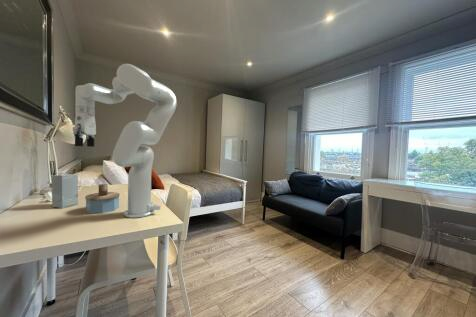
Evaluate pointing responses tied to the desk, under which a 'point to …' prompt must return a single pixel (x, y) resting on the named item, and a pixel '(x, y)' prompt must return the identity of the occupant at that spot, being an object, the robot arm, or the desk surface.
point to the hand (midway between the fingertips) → (85, 146)
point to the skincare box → (64, 190)
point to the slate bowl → (102, 205)
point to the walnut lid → (102, 194)
